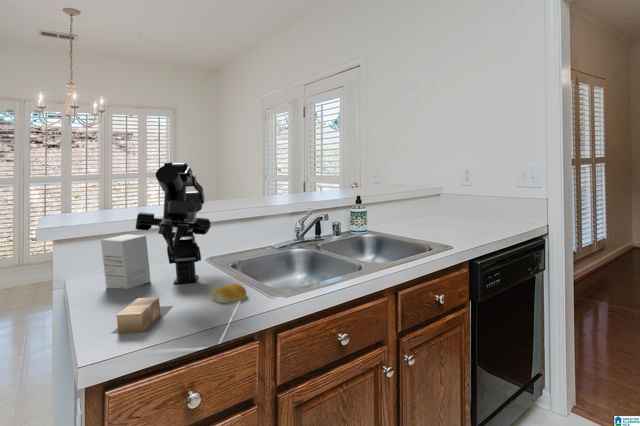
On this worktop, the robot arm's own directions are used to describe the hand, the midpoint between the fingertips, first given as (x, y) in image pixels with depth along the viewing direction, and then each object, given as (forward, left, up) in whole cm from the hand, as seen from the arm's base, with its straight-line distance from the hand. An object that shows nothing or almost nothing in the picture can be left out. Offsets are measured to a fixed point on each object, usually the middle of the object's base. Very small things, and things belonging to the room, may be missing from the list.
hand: (172, 252), depth 98 cm
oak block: (+11, -4, -10) cm, 16 cm away
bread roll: (+4, +14, -13) cm, 20 cm away
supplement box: (-16, -17, -13) cm, 27 cm away
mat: (+14, -4, -13) cm, 19 cm away
